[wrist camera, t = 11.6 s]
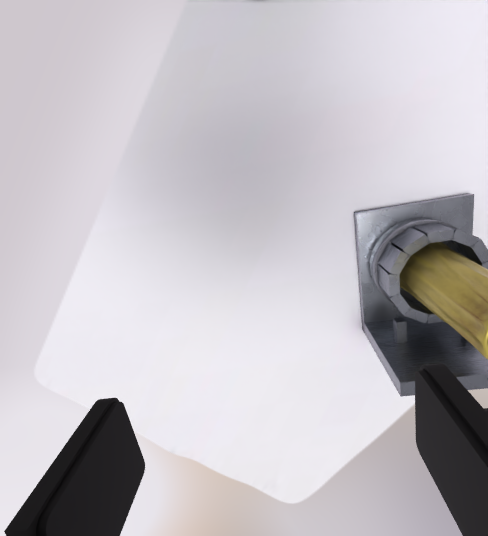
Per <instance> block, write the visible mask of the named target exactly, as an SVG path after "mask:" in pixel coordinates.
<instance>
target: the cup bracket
mask: <svg viewBox="0 0 488 536" xmlns="http://www.w3.org/2000/svg"><path fill="white" fill-rule="evenodd" d="M473 208H474V194H463V195H457V196H450V197H444V198H438V199H432V200H426V201H420V202H414V203H408V204H402V205H396V206H390V207H384V208H378V209H371V210H365V211H359V212H354V217H355V231H356V245H357V259H358V273H359V287H360V301H361V315H362V329H363V331H364V333H365V335H366V336H367V338H368V340H369V342H370V343H371V345H372V347H373V349H374V351H375V352H376V354H377V356H378V358H379V359H380V361H381V363H382V365H383V366H384V368H385V370H386V372H387V373H388V375H389V377H390V379H391V380H392V382H393V384H394V386H395V387H396V389H397V391H398V393H399V394H400V396H410V395H415V372H416V371H420V368H421V366H422V365H430V364H440V363H442V364H444V365H445V366H447V368H448V369H449V370H450V371H451V372H452V373H453V374H454V376H455V377H456V378H457V379H458V380H459V381H460V382H461V384H462V385H463V386H464V387H465V388H466V389H467V390H472V389H484V388H488V359H486V358H485V357H484V356H483V355H482V354H481V353H480V352H479V351H478V350H477V349H476V348H475V347H474V346H473V345H472V344H471V343H470V342H468V341H467V340H466V339H465V338H464V337H463V336H462V335H460V334H459V333H458V332H457V331H456V330H455V329H454V328H453V327H451V326H450V325H449V324H447V323H446V322H444V321H443V320H441V319H440V318H439V317H438V316H437V315H435V314H434V313H433V312H432V311H430V310H429V309H428V308H427V307H426V306H425V305H423V304H422V303H421V302H420V301H418V300H417V299H416V298H415V297H414V296H412V295H411V294H410V293H409V292H407V291H405V290H404V289H403V288H401V287H400V276H399V275H400V273H401V271H402V269H403V268H404V266H405V264H406V262H407V261H408V259H409V257H410V256H411V255H413V254H414V253H416V252H417V251H418V250H420V249H421V248H423V247H424V246H426V245H427V244H429V243H434V242H442V243H443V244H445V245H447V246H448V247H449V248H450V249H452V250H454V251H456V252H457V253H459V254H461V255H463V256H465V257H466V258H468V259H470V260H471V261H473V262H475V263H477V264H479V265H481V266H483V267H485V268H486V269H488V249H487V248H486V246H485V245H484V243H483V242H482V240H481V239H479V238H478V237H475V236H473V235H472V230H473Z"/></svg>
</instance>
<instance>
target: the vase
mask: <svg viewBox="0 0 488 536" xmlns="http://www.w3.org/2000/svg"><path fill="white" fill-rule="evenodd" d="M399 276H400V287H401V288H403V289H404V290H405V291H407V292H409V293H410V294H411V295H412V296H414V297H415V298H416V299H417V300H418V301H420V302H421V303H422V304H423V305H425V306H426V307H427V308H428V309H429V310H430V311H432V312H433V313H434V314H435V315H437V316H438V317H439V318H440V319H441V320H443V321H444V322H446V323H447V324H449V325H450V326H451V327H453V328H454V329H455V330H456V331H457V332H458V333H459V334H460V335H462V336H463V337H464V338H465V339H466V340H467V341H468V342H470V343H471V344H472V345H473V346H474V347H475V348H476V349H477V350H478V351H479V352H480V353H481V354H482V355H483V356H484V357H485V358H486V359H488V269H486V268H485V267H483V266H481V265H479V264H477V263H475V262H473V261H471V260H470V259H468V258H466V257H465V256H463V255H461V254H459V253H457V252H456V251H454V250H452V249H450V248H449V247H448V246H447V245H445V244H443V243H442V242H434V243H429V244H427V245H426V246H424V247H423V248H421V249H420V250H418V251H417V252H416V253H414V254H413V255H411V256H410V257H409V259H408V261H407V262H406V264H405V266H404V268H403V269H402V271H401V273H400V275H399Z"/></svg>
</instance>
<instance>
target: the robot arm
mask: <svg viewBox="0 0 488 536" xmlns="http://www.w3.org/2000/svg"><path fill="white" fill-rule="evenodd" d="M415 410H416V412H415V414H416V443H417V447H418V450H419V452H420V455H421V457H422V459H423V460H424V462H425V464H426V466H427V468H428V470H429V472H430V474H431V476H432V477H433V479H434V481H435V483H436V485H437V487H438V489H439V491H440V493H441V495H442V497H443V498H444V500H445V502H446V504H447V506H448V508H449V510H450V512H451V514H452V516H453V518H454V520H455V521H456V523H457V525H458V527H459V529H460V531H461V533H462V535H463V536H488V408H487V409H483V408H482V406H481V405H480V404H479V403H478V402H477V401H476V400H475V399H474V397H473V396H472V395H471V394H470V393H469V392H468V390H467V389H466V388H465V387H464V386H463V385H462V384H461V382H460V381H459V380H458V379H457V378H456V377H455V376H454V374H453V373H452V372H451V371H450V370H449V369H448V368H447V366H445V365H444V364H442V363H440V364H430V365H422V366H421V368H420V371H416V372H415ZM144 470H145V462H144V459H143V456H142V453H141V450H140V448H139V445H138V442H137V439H136V437H135V434H134V431H133V428H132V426H131V423H130V420H129V417H128V415H127V412H126V409H125V407H124V404H123V403H122V402H119V400H118V399H117V398H108V399H99V400H97V401H96V402H95V404H94V405H93V407H92V408H91V409H90V411H89V412H88V414H87V415H86V416H85V418H84V419H83V421H82V422H81V424H80V425H79V426H78V428H77V429H76V431H75V432H74V433H73V435H72V436H71V438H70V439H69V441H68V442H67V443H66V445H65V446H64V448H63V449H62V451H61V452H60V453H59V455H58V456H57V458H56V459H55V460H54V462H53V463H52V465H51V466H50V467H49V469H48V470H47V472H46V473H45V475H44V476H43V477H42V479H41V480H40V482H39V483H38V484H37V486H36V488H35V489H34V490H33V492H32V493H31V494H30V496H29V497H28V499H27V500H26V501H25V503H24V504H23V506H22V507H21V509H20V510H19V511H18V513H17V514H16V516H15V517H14V519H13V520H12V521H11V523H10V524H9V526H8V527H7V529H6V530H5V531H4V532H5V534H6V536H120V533H121V531H122V528H123V526H124V523H125V521H126V518H127V516H128V513H129V510H130V508H131V505H132V503H133V500H134V498H135V495H136V492H137V490H138V487H139V485H140V482H141V479H142V477H143V474H144Z"/></svg>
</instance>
